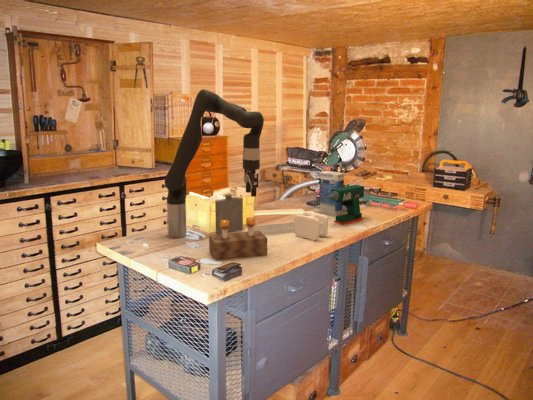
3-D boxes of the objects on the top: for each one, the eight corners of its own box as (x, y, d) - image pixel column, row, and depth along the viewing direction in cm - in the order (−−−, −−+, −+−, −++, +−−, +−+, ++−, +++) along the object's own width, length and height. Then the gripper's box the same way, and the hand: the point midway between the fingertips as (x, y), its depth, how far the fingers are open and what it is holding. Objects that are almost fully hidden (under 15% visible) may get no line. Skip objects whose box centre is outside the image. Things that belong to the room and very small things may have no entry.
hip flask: (217, 234, 226) (217, 196, 222) (213, 232, 230) (213, 195, 225) (243, 229, 235) (243, 193, 231) (240, 228, 239) (239, 192, 234)
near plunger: (221, 254, 195) (221, 222, 192) (219, 251, 199) (219, 219, 196) (230, 253, 197) (230, 221, 193) (228, 250, 200) (228, 219, 197)
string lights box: (342, 214, 269) (345, 173, 263) (335, 217, 263) (338, 174, 257) (324, 210, 277) (326, 170, 271) (317, 213, 272) (319, 171, 266)
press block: (214, 260, 191) (214, 243, 189) (209, 251, 202) (209, 234, 200) (267, 255, 198) (267, 238, 196) (259, 246, 209) (259, 230, 207)
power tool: (327, 229, 238) (329, 193, 233) (318, 226, 243) (319, 191, 238) (363, 219, 258) (365, 186, 254) (353, 217, 263) (355, 184, 259)
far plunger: (247, 252, 199) (247, 220, 196) (245, 249, 203) (245, 217, 199) (256, 251, 200) (256, 219, 197) (253, 248, 204) (253, 217, 201)
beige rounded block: (292, 235, 227) (293, 214, 224) (304, 231, 234) (305, 210, 232) (316, 242, 217) (317, 219, 214) (328, 237, 225) (329, 215, 222)
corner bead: (251, 238, 224) (251, 228, 222) (246, 233, 232) (246, 224, 231) (303, 232, 233) (304, 223, 232) (297, 228, 242) (297, 219, 240)
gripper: (238, 156, 197) (238, 191, 201) (247, 160, 184) (247, 198, 188) (254, 155, 200) (254, 190, 203) (264, 160, 186) (263, 197, 190)
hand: (250, 194), depth 195 cm, fingers open, 8 cm apart
